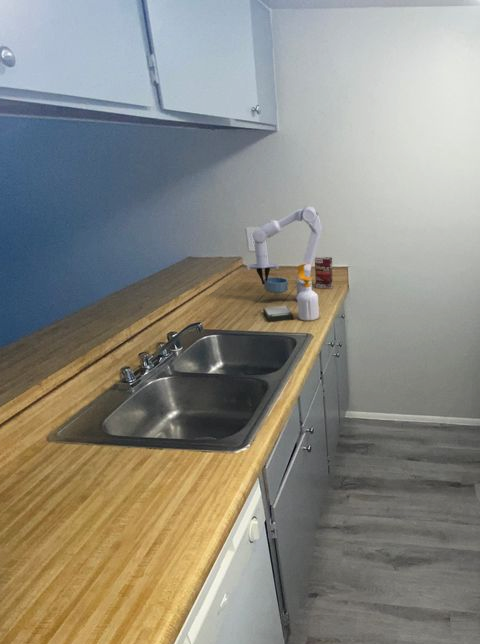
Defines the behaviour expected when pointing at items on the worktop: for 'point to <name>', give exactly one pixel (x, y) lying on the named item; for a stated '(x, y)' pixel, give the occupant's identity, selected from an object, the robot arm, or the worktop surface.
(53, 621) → the worktop surface
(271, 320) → the scale
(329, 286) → the supplement box
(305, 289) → the spray bottle
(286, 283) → the bowl
